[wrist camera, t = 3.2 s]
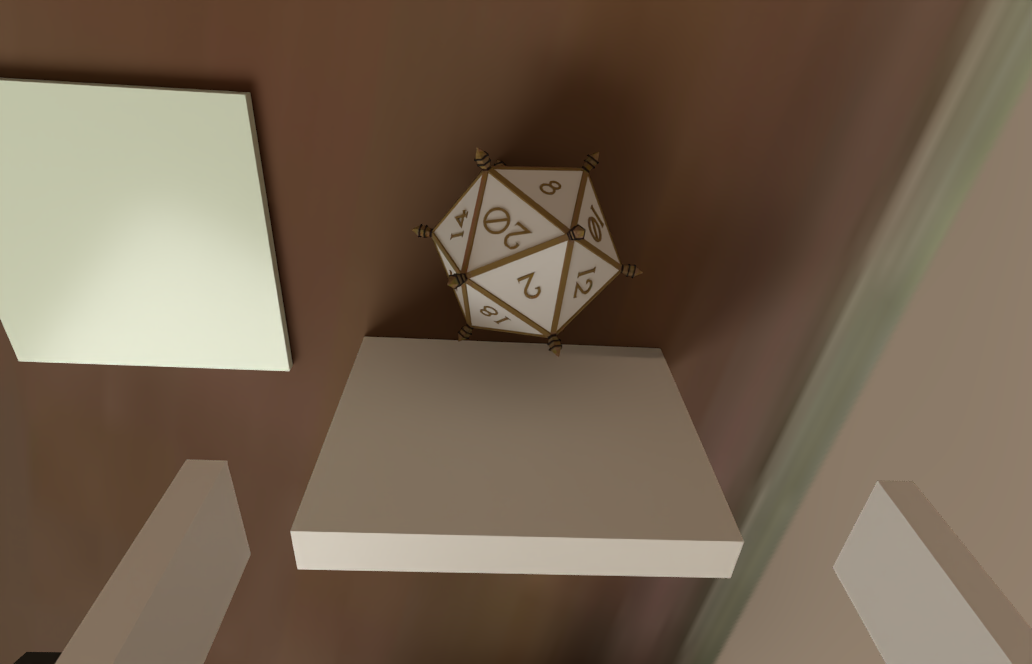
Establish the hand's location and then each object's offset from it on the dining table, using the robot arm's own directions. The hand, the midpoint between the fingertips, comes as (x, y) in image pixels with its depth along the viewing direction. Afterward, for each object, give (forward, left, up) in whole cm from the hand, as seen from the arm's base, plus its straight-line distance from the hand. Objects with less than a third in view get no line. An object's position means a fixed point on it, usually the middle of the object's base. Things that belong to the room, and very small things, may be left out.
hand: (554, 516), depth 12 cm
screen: (-10, 0, -19) cm, 21 cm away
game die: (0, 0, -19) cm, 19 cm away
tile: (-2, +19, -19) cm, 27 cm away
